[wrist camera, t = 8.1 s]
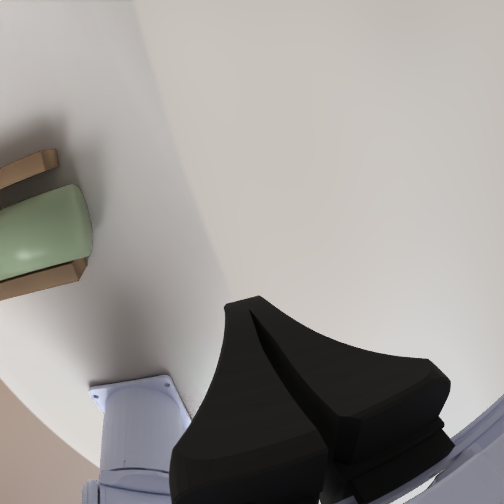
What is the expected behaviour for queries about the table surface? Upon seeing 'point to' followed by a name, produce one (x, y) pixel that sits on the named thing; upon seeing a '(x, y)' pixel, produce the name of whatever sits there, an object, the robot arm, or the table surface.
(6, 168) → the u rest
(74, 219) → the bottle
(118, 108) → the table surface
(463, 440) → the robot arm
